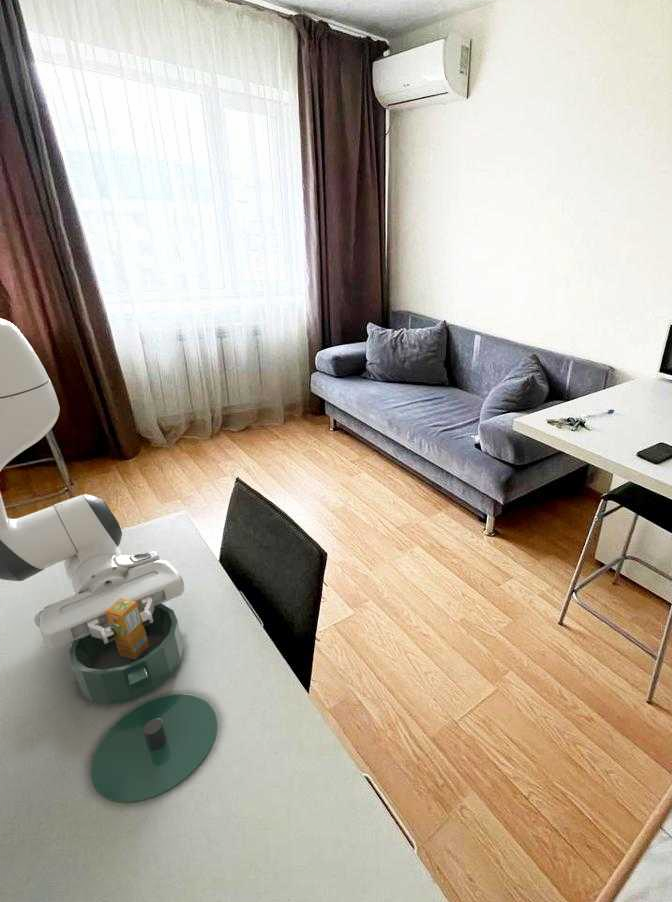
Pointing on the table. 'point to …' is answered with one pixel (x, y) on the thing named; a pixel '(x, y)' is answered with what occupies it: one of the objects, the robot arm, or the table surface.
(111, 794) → the pot lid
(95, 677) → the pot
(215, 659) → the table surface
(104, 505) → the robot arm
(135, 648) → the supplement box
